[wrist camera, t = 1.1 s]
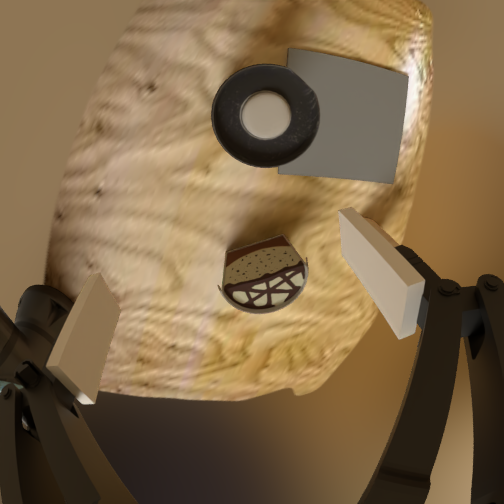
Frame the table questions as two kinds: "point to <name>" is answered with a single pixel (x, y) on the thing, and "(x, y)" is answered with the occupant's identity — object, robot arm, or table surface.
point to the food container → (263, 276)
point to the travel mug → (265, 115)
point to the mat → (351, 118)
